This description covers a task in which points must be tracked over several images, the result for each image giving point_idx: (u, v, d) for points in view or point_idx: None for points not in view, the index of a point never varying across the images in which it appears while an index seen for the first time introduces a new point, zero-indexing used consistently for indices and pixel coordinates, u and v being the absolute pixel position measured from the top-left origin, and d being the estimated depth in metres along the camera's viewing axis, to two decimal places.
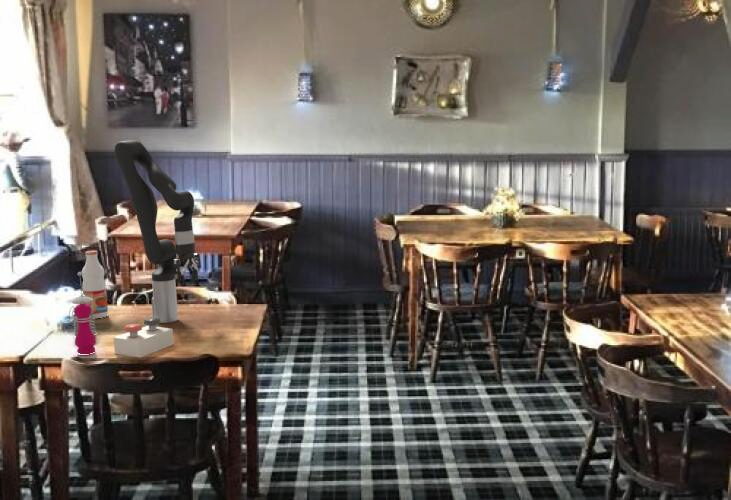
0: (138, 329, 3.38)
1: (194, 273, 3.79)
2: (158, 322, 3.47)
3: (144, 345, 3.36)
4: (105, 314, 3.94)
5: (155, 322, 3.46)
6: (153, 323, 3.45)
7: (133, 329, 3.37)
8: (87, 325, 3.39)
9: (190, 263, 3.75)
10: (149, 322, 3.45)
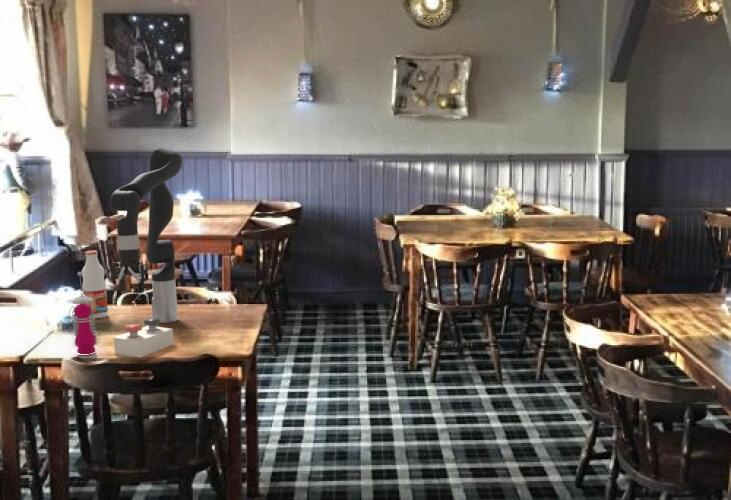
0: (138, 329, 3.38)
1: (123, 283, 3.39)
2: (158, 322, 3.47)
3: (144, 345, 3.36)
4: (105, 314, 3.94)
5: (155, 322, 3.46)
6: (153, 323, 3.45)
7: (133, 329, 3.37)
8: (87, 325, 3.39)
9: None
10: (149, 322, 3.45)
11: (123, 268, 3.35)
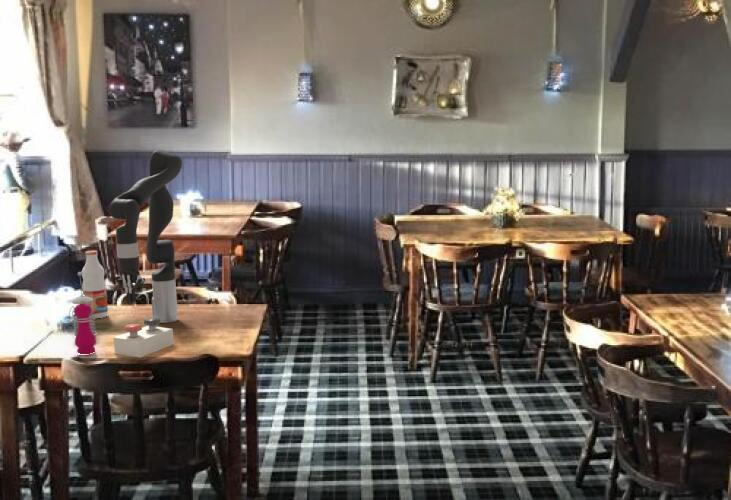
0: (138, 329, 3.38)
1: None
2: (158, 322, 3.47)
3: (144, 345, 3.36)
4: (105, 314, 3.94)
5: (155, 322, 3.46)
6: (153, 323, 3.45)
7: (133, 329, 3.37)
8: (87, 325, 3.39)
9: None
10: (149, 322, 3.45)
11: (122, 277, 3.35)
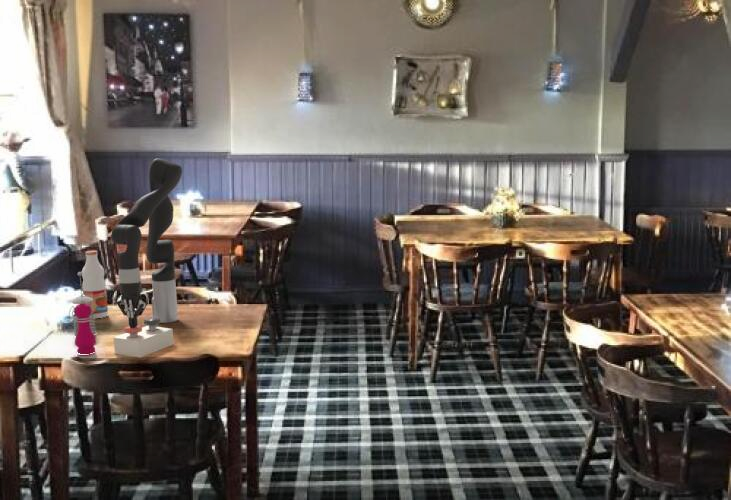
0: (138, 330, 3.38)
1: None
2: (158, 322, 3.47)
3: (144, 345, 3.36)
4: (105, 314, 3.94)
5: (155, 322, 3.46)
6: (153, 323, 3.45)
7: (133, 330, 3.37)
8: (87, 325, 3.39)
9: None
10: (149, 322, 3.45)
11: (124, 301, 3.37)
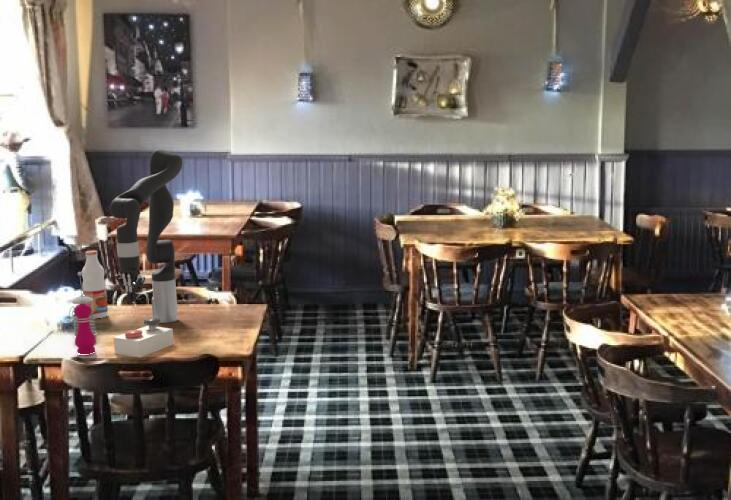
0: (138, 335, 3.38)
1: None
2: (158, 322, 3.47)
3: (144, 345, 3.36)
4: (105, 314, 3.94)
5: (155, 322, 3.46)
6: (153, 323, 3.45)
7: (133, 335, 3.37)
8: (87, 325, 3.39)
9: None
10: (149, 322, 3.45)
11: (123, 275, 3.36)
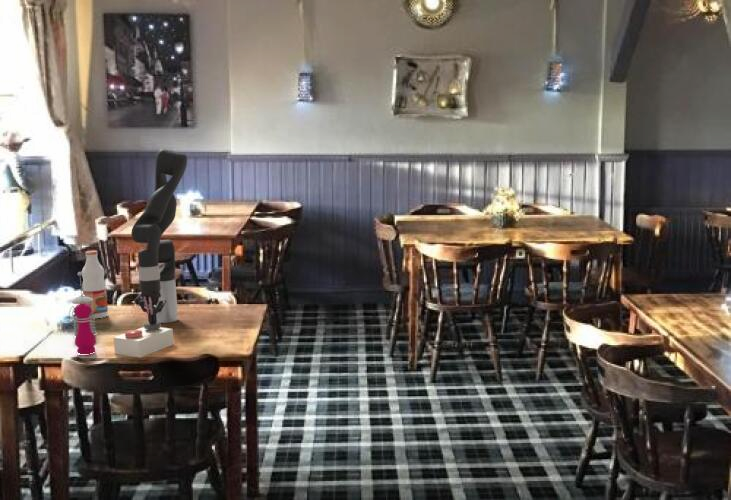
0: (138, 335, 3.38)
1: None
2: (158, 326, 3.47)
3: (144, 345, 3.36)
4: (105, 314, 3.94)
5: (155, 326, 3.46)
6: (153, 327, 3.46)
7: (133, 335, 3.37)
8: (87, 325, 3.39)
9: None
10: (149, 326, 3.45)
11: (144, 298, 3.45)
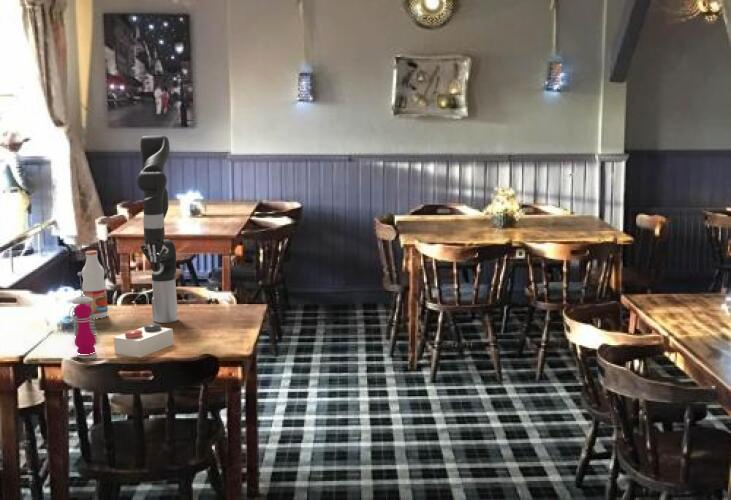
0: (138, 335, 3.38)
1: None
2: (158, 328, 3.47)
3: (144, 345, 3.36)
4: (105, 314, 3.94)
5: (155, 328, 3.46)
6: (153, 329, 3.46)
7: (133, 335, 3.37)
8: (87, 325, 3.39)
9: None
10: (149, 328, 3.45)
11: (148, 246, 3.50)
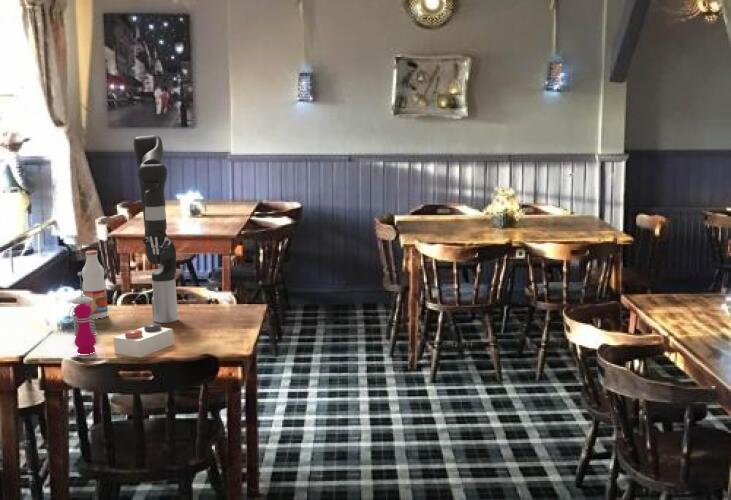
0: (138, 335, 3.38)
1: None
2: (158, 328, 3.47)
3: (144, 345, 3.36)
4: (105, 314, 3.94)
5: (155, 328, 3.46)
6: (153, 329, 3.46)
7: (133, 335, 3.37)
8: (87, 325, 3.39)
9: None
10: (149, 328, 3.45)
11: (150, 238, 3.51)
